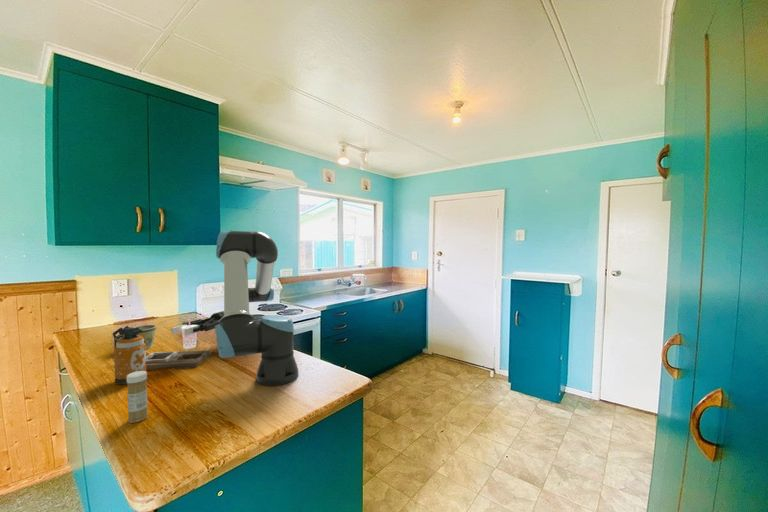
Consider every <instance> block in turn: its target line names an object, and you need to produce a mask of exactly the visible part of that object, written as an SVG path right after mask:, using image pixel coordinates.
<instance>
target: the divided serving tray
mask: <svg viewBox="0 0 768 512" xmlns="http://www.w3.org/2000/svg"><path fill="white" fill-rule="evenodd" d="M211 352H212V351H211V349H207V350H206V349H205V350H203V349H202V350H186V351H185V350H183V351H182V350H181V351H178V350H177V351H176V350H175V351H154V352H151V353H150V354H147V355H146V371H153V369H157V370H169V369H171V370H173V369H172V368H174V369H189V368H188V367H192V368H197V367H198V366H199V365H201V364H202V363H203V362H204V361H205V360H206V359H208V357H209V356H211V354H212V353H211ZM184 358H189V359H184ZM182 359H183V360H182ZM203 360H204V361H203ZM202 361H203V362H202ZM201 362H202V363H201ZM200 363H201V364H200Z"/></svg>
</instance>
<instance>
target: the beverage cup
mask: <svg viewBox="0 0 768 512" xmlns="http://www.w3.org/2000/svg"><path fill="white" fill-rule="evenodd" d="M188 322H189V325H187V326H183V327H181V330H182V332H181V334H182V335H181V336H182V344H183V345H182V347H183V349H185V350H190V349H195V348H196V347H197V336H198V335H197V334H198V332H197V333H193V334H190V335H187V336H185V329H187V328H190V327H194V326H197V325H190V322H191V315H190V314H188Z"/></svg>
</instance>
